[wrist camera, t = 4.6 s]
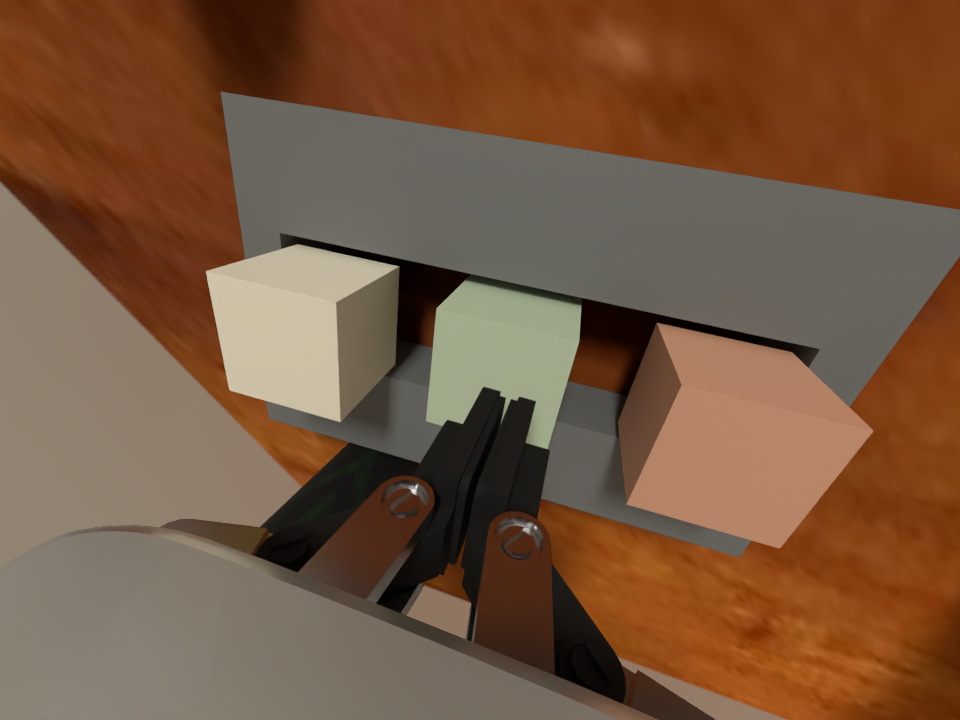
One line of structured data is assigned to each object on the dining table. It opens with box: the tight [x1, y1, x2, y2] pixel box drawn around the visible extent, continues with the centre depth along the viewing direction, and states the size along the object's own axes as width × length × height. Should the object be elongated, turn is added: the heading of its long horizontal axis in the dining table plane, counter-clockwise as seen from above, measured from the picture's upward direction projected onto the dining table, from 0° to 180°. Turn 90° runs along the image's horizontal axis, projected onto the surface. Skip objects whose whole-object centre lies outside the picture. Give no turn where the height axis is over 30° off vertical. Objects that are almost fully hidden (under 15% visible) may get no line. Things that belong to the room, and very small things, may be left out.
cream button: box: [206, 244, 400, 422], centre depth 17 cm, size 5×5×5 cm
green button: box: [426, 274, 582, 449], centre depth 17 cm, size 5×5×5 cm
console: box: [221, 92, 960, 557], centre depth 19 cm, size 26×16×4 cm, turn 82°
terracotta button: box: [618, 323, 873, 548], centre depth 14 cm, size 5×5×5 cm
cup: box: [261, 443, 419, 534], centre depth 23 cm, size 8×8×12 cm
